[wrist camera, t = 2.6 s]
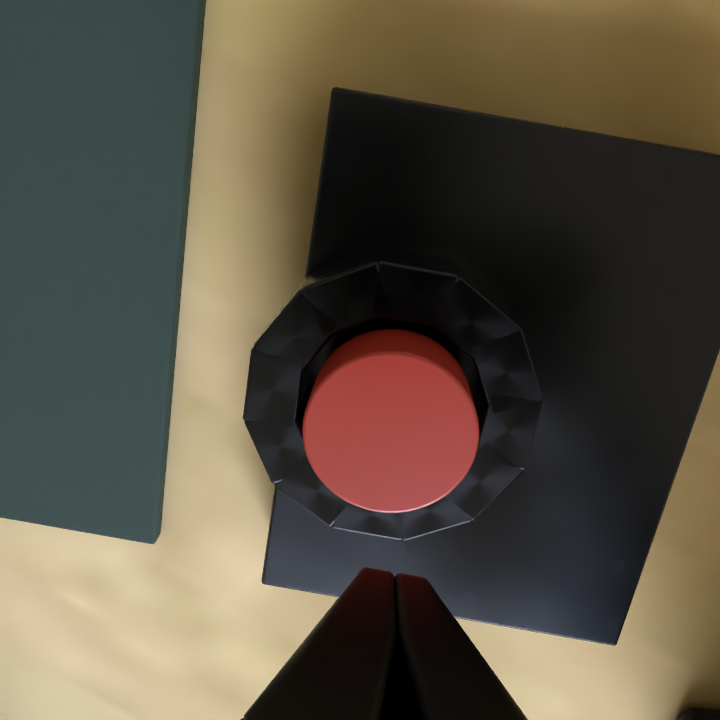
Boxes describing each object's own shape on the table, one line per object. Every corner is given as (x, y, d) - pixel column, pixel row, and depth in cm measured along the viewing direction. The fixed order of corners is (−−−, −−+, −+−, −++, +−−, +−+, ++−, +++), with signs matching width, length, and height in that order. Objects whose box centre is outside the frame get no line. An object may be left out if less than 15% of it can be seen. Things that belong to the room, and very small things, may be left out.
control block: (595, 596, 21) (638, 698, 17) (250, 536, 21) (217, 624, 17) (738, 162, 17) (836, 169, 13) (310, 87, 17) (284, 72, 13)
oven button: (453, 487, 16) (458, 527, 14) (301, 461, 16) (290, 498, 14) (486, 343, 15) (497, 368, 13) (324, 314, 15) (315, 336, 13)
